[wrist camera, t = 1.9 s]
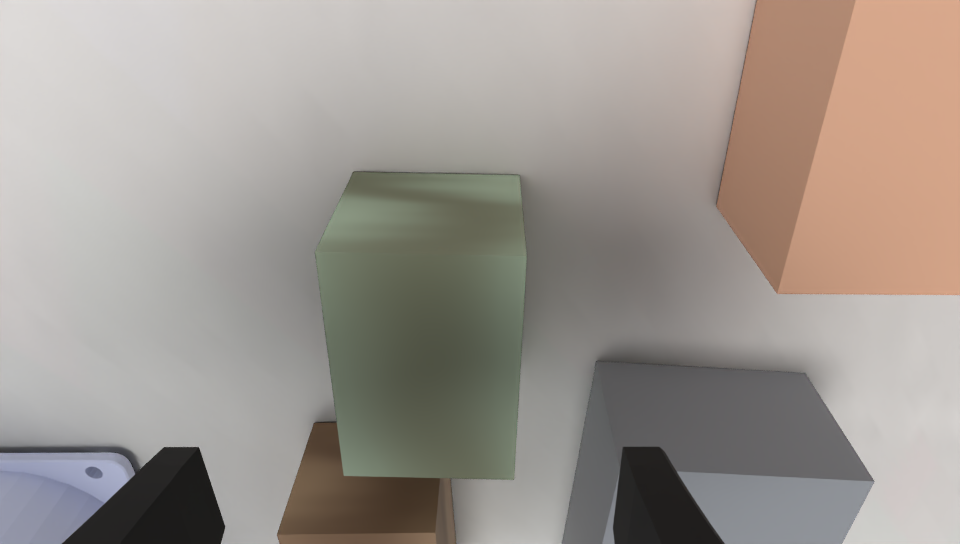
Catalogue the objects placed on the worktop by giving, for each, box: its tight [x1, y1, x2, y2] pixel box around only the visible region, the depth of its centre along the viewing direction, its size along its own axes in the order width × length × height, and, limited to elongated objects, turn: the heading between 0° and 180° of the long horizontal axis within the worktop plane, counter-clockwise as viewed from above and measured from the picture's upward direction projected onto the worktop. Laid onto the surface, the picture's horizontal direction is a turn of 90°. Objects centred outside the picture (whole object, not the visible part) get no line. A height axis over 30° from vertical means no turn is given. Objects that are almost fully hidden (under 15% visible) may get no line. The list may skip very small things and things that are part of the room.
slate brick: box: [562, 361, 874, 544], centre depth 19 cm, size 6×8×4 cm
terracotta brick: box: [716, 0, 960, 295], centre depth 13 cm, size 4×6×4 cm, turn 0°
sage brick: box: [315, 172, 527, 480], centre depth 16 cm, size 4×6×4 cm, turn 179°
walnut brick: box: [277, 423, 456, 544], centre depth 20 cm, size 4×6×4 cm, turn 2°
